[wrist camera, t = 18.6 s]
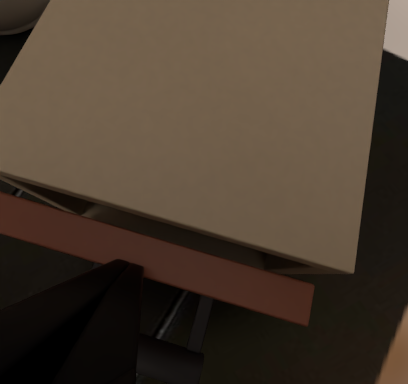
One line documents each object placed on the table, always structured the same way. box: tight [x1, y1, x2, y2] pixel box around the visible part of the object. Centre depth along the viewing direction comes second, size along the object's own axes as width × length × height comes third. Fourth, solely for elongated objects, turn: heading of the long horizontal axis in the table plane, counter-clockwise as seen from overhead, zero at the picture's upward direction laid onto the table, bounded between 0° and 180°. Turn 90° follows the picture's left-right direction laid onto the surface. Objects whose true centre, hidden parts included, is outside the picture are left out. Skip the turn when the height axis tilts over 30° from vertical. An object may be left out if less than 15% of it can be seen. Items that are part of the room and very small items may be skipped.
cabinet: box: [0, 0, 389, 274], centre depth 14 cm, size 14×12×8 cm
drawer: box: [0, 192, 314, 384], centre depth 12 cm, size 16×10×6 cm, turn 164°
